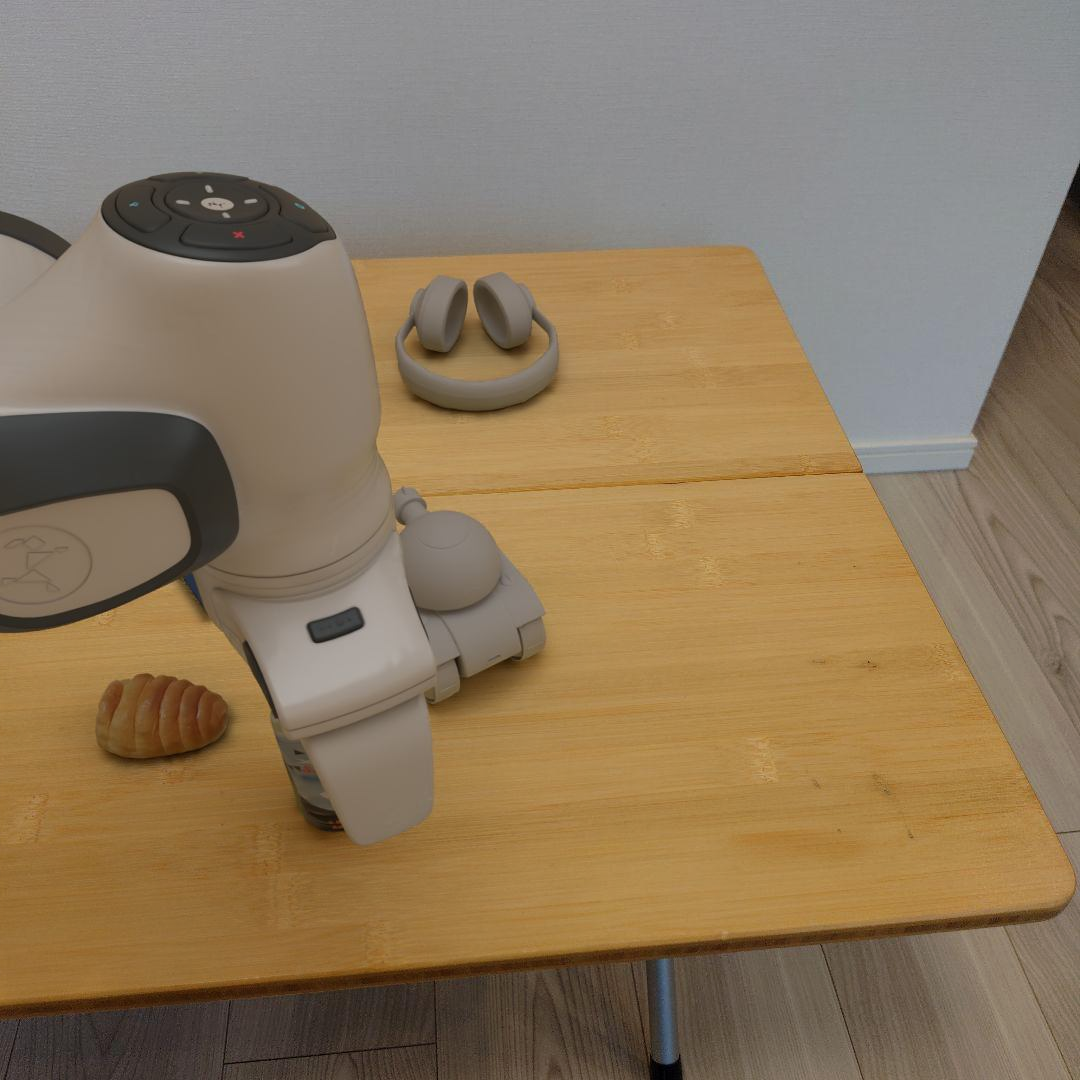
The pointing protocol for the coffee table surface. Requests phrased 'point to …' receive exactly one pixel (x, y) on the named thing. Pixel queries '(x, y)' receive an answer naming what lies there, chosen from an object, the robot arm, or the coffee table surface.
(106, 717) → the pastry
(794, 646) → the coffee table surface
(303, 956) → the coffee table surface
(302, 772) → the beverage can
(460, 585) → the toy tank
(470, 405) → the headphones
